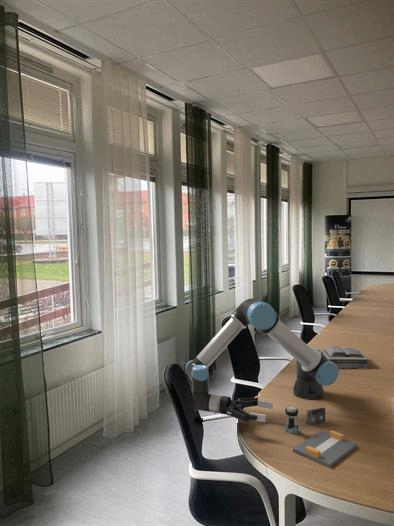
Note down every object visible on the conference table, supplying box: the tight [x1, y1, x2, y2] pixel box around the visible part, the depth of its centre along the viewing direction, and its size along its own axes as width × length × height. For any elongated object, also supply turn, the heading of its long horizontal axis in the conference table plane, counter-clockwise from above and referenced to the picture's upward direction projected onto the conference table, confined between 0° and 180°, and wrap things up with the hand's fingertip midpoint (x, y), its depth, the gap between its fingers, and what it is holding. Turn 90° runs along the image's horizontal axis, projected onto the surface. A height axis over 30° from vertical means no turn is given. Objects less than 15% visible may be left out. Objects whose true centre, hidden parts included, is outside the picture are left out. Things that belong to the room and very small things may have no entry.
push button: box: [284, 405, 303, 435], centre depth 166 cm, size 7×5×10 cm
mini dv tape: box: [306, 407, 326, 426], centre depth 174 cm, size 8×2×6 cm, turn 110°
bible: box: [320, 345, 370, 369], centre depth 253 cm, size 23×27×10 cm
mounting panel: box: [292, 429, 358, 469], centre depth 152 cm, size 20×15×3 cm
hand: (269, 411), depth 169 cm, fingers open, 13 cm apart
